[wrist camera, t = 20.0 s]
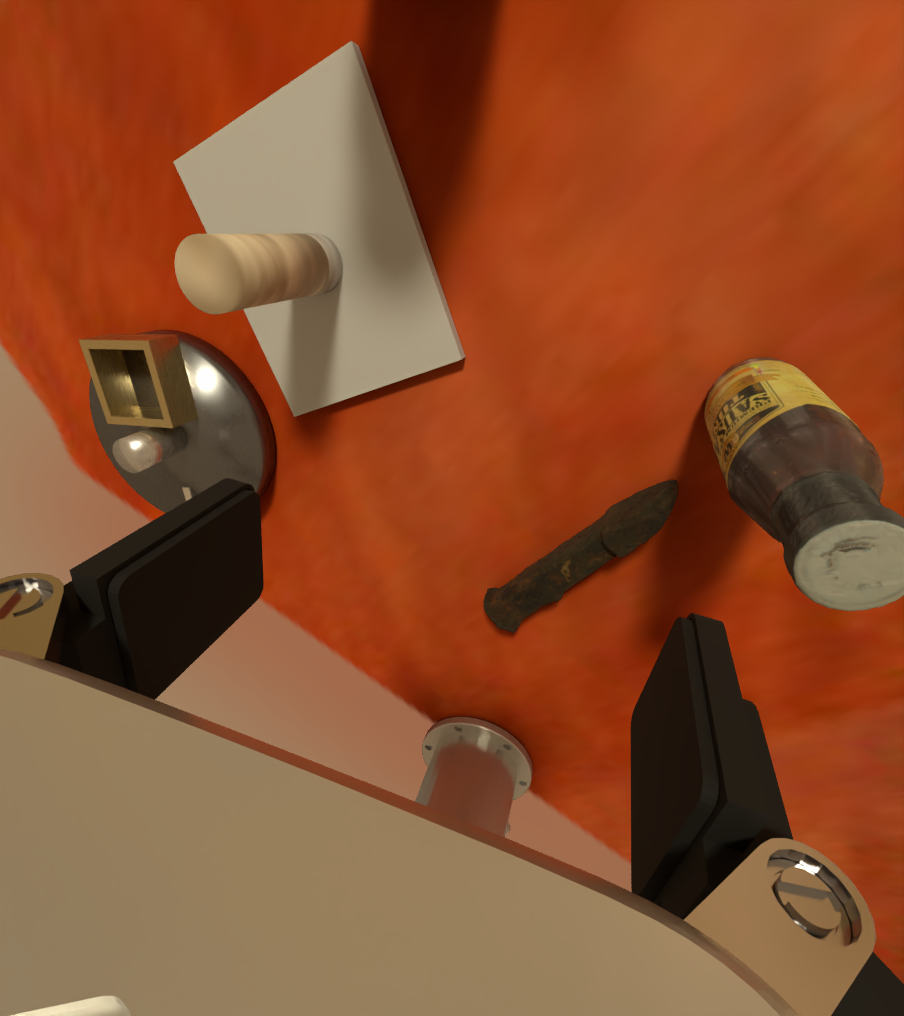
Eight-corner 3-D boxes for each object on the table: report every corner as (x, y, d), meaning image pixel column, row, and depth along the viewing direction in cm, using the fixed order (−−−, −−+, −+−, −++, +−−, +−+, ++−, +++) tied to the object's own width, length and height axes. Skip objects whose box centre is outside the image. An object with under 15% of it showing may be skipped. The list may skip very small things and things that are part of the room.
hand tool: (516, 614, 49) (506, 647, 45) (487, 584, 49) (475, 615, 45) (697, 502, 40) (705, 532, 36) (664, 464, 39) (668, 490, 35)
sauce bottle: (721, 345, 34) (811, 451, 17) (824, 364, 33) (1028, 498, 16) (686, 437, 38) (733, 603, 21) (779, 458, 36) (909, 651, 19)
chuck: (290, 521, 51) (243, 561, 45) (144, 503, 56) (83, 538, 50) (253, 330, 43) (188, 346, 37) (86, 329, 48) (3, 343, 42)
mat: (465, 356, 40) (461, 359, 39) (300, 413, 46) (294, 416, 45) (358, 45, 33) (351, 40, 32) (183, 163, 39) (173, 161, 38)
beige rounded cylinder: (328, 304, 40) (223, 329, 30) (286, 270, 40) (166, 283, 29) (352, 257, 38) (248, 266, 28) (307, 220, 37) (187, 216, 27)
